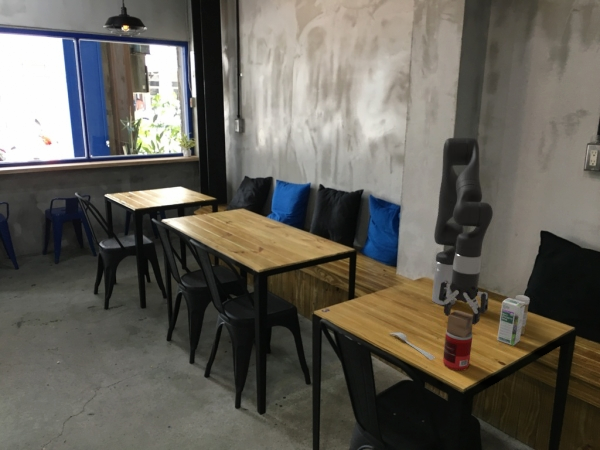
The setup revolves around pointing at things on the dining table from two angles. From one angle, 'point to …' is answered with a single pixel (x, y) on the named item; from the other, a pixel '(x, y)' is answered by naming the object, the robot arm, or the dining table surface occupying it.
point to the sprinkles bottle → (526, 300)
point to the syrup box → (511, 321)
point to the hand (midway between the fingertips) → (460, 319)
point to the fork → (414, 346)
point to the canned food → (457, 351)
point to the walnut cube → (460, 323)
